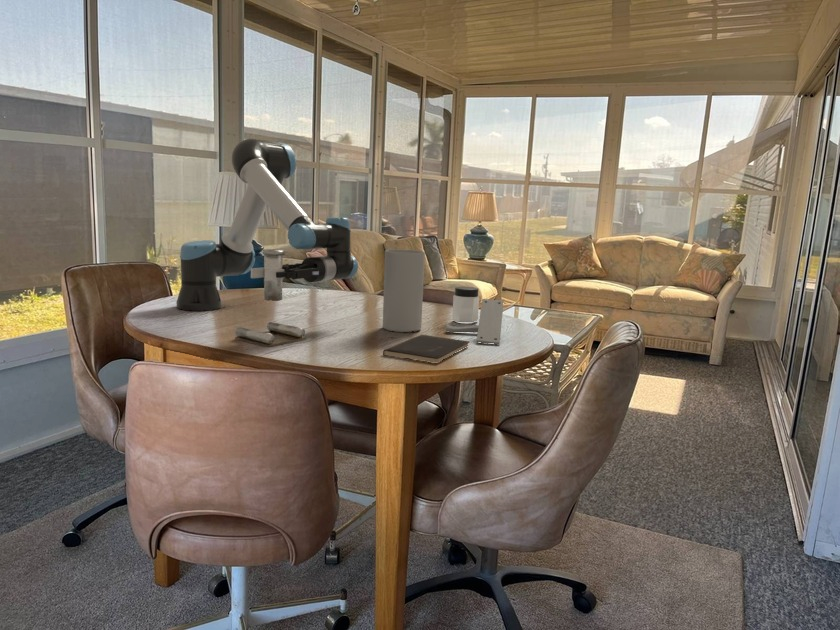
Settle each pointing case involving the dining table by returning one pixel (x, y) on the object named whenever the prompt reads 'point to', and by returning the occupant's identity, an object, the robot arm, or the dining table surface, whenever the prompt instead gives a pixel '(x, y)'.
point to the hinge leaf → (271, 335)
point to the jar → (465, 304)
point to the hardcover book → (426, 348)
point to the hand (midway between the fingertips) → (258, 274)
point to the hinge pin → (272, 263)
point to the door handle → (485, 322)
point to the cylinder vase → (403, 290)
